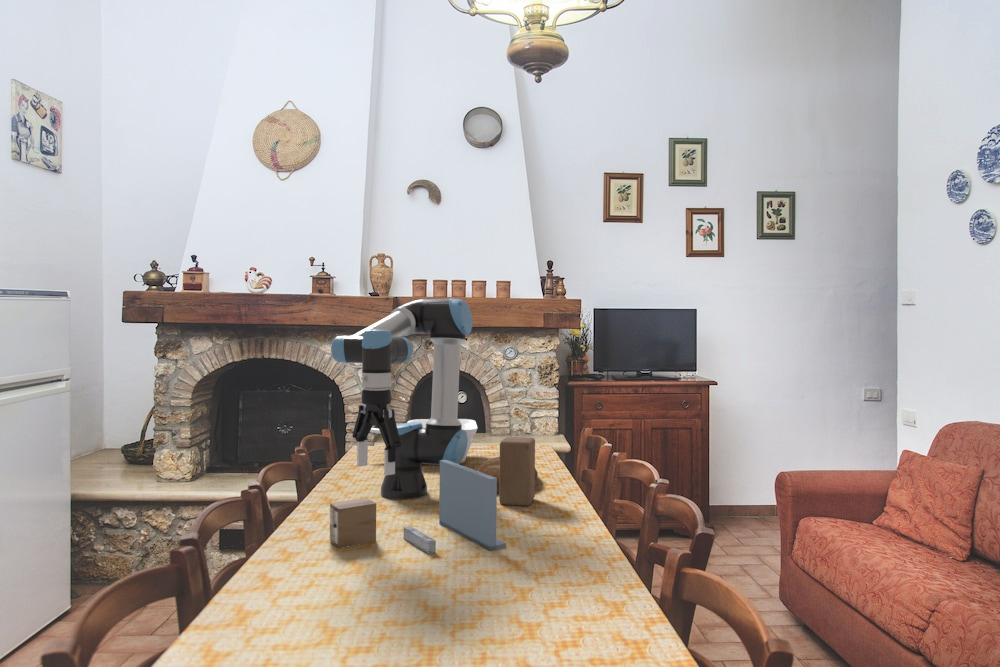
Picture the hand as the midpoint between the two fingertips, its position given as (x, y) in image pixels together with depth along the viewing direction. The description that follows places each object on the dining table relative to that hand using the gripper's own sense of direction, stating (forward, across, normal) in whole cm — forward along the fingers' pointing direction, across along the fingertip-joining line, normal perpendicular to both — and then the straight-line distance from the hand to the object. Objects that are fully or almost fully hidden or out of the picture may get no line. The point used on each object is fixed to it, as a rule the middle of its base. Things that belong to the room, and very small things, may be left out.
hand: (375, 470), depth 174 cm
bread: (+18, -24, +69) cm, 75 cm away
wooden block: (+18, -3, +54) cm, 57 cm away
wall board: (+18, +13, +22) cm, 31 cm away
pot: (+18, -73, +66) cm, 100 cm away
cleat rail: (+18, +11, +6) cm, 22 cm away
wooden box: (+18, -3, -5) cm, 19 cm away
